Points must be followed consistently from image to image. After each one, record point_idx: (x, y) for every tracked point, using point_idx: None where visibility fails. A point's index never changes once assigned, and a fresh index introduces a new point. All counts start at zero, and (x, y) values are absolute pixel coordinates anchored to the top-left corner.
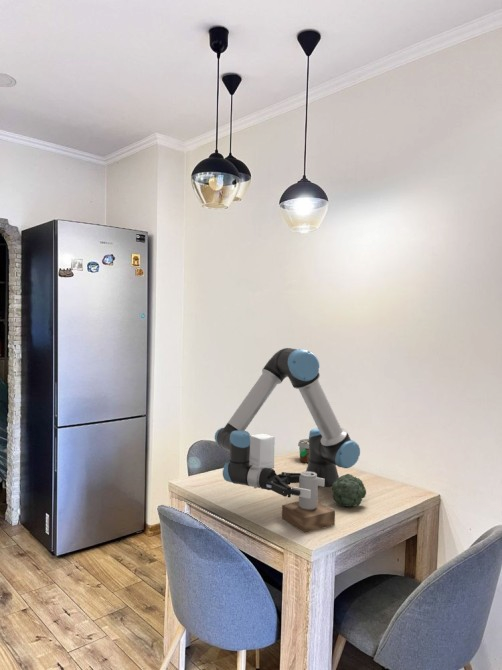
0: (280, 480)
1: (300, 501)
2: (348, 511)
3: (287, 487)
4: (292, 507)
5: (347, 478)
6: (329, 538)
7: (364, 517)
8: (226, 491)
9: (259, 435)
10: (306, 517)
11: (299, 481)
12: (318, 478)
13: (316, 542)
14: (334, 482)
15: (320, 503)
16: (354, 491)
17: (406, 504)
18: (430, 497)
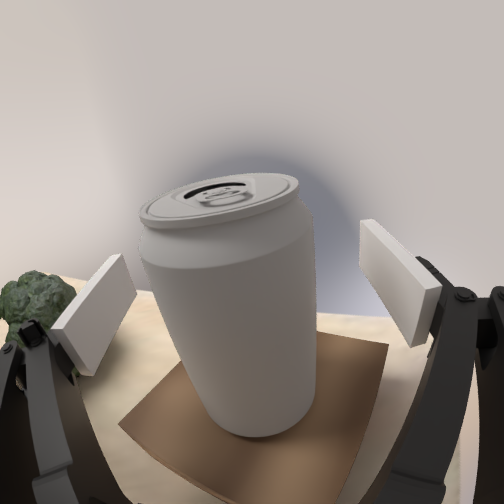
0: (432, 486)
1: (309, 390)
2: (112, 351)
3: (476, 304)
4: (315, 462)
5: (30, 283)
6: (346, 323)
7: (146, 315)
8: None
9: None
10: (378, 344)
11: (284, 290)
12: (107, 272)
13: (398, 330)
14: (16, 333)
15: (171, 372)
16: (75, 294)
17: (70, 284)
18: (47, 272)
